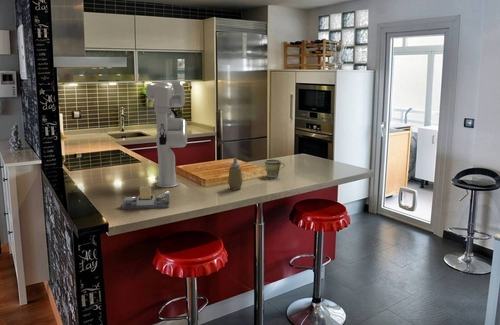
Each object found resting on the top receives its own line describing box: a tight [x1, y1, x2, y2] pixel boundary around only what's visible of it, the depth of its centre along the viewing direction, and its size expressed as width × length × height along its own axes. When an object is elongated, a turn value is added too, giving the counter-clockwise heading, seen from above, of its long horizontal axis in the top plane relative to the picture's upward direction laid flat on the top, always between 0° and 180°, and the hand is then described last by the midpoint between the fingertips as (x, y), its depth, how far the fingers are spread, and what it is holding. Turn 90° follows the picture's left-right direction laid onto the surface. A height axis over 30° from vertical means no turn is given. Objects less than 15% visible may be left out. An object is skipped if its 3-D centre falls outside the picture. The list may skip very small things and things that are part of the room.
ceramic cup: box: [264, 158, 285, 179], centre depth 274 cm, size 13×10×10 cm
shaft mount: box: [121, 190, 171, 211], centre depth 213 cm, size 23×9×7 cm, turn 99°
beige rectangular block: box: [139, 185, 152, 200], centre depth 213 cm, size 5×5×8 cm
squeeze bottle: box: [227, 157, 243, 191], centre depth 245 cm, size 8×8×18 cm
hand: (163, 143), depth 226 cm, fingers open, 9 cm apart
